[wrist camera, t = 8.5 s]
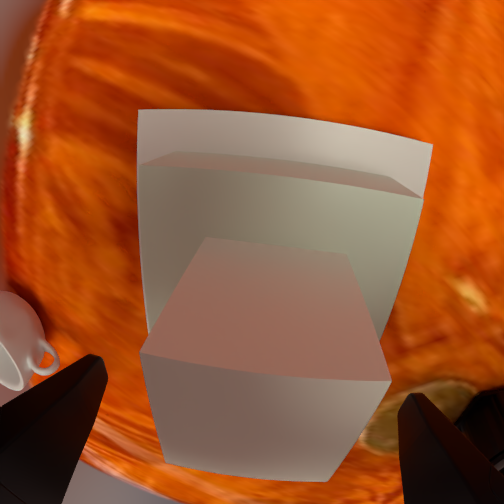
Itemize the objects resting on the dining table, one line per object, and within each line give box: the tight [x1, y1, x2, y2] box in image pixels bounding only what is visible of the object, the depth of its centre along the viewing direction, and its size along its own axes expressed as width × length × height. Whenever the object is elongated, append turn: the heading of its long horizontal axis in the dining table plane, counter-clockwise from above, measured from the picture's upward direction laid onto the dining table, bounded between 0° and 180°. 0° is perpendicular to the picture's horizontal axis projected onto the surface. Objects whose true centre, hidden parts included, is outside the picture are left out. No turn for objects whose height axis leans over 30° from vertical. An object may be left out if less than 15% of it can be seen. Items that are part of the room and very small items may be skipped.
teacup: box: [0, 291, 60, 391], centre depth 19 cm, size 10×8×5 cm
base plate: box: [137, 109, 433, 334], centre depth 16 cm, size 14×14×1 cm
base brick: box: [139, 151, 424, 341], centre depth 14 cm, size 10×10×4 cm
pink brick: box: [139, 237, 392, 482], centre depth 9 cm, size 5×5×6 cm
